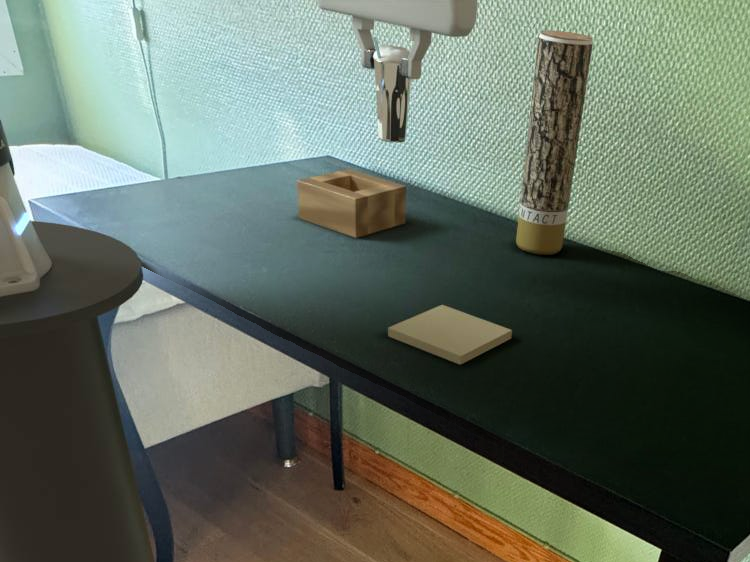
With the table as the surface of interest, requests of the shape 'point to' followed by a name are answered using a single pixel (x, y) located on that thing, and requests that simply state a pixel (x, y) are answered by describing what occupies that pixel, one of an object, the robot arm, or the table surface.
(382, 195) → the holder
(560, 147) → the paper tube
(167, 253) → the table surface
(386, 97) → the milkshake
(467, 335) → the mat
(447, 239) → the table surface
